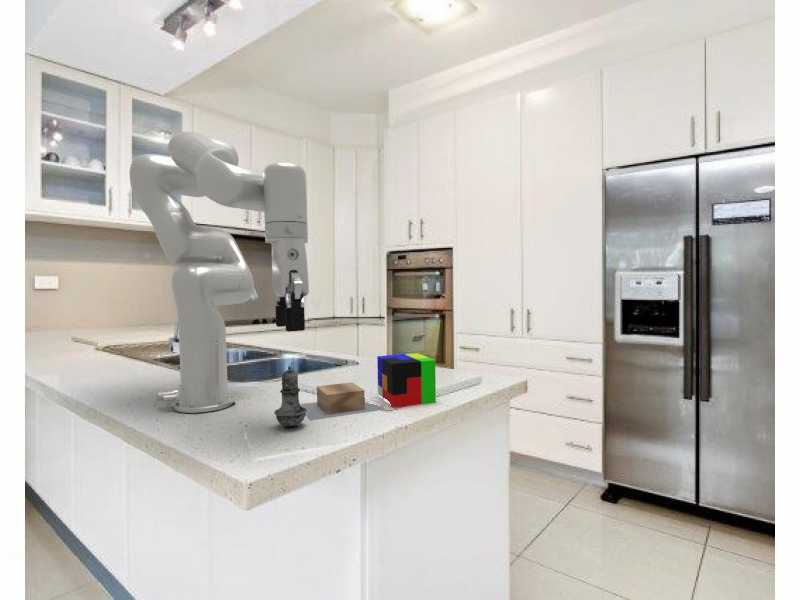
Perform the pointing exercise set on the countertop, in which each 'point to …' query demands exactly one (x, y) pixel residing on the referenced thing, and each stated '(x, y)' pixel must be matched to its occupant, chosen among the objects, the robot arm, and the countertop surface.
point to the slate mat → (317, 413)
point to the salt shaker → (290, 401)
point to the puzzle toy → (406, 379)
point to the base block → (340, 398)
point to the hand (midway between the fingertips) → (289, 328)
